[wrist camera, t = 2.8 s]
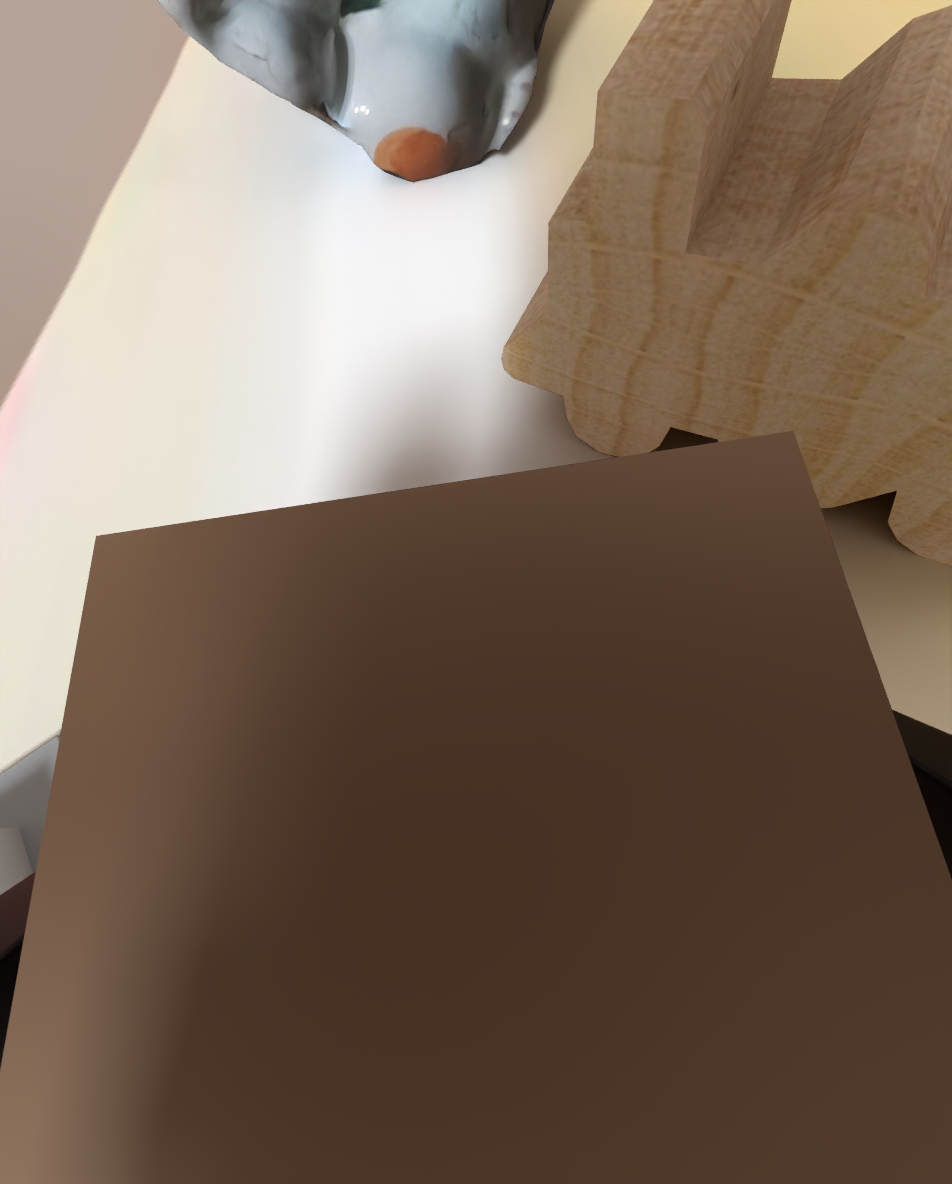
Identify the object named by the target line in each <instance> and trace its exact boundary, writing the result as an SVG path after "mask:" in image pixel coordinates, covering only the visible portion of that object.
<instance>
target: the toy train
mask: <svg viewBox="0 0 952 1184" xmlns="http://www.w3.org/2000/svg"><path fill="white" fill-rule="evenodd" d="M790 4H791V0H654V1H653V3H652V4H651V6H650V7H649V9H648V11H647V12H646V14H645V16H644V17H643V19H642V20H641V22H640V24H639V25H638V27H637V29H636V30H635V32H634V33H633V35H632V37H631V38H630V40H629V42H628V43H627V45H626V46H625V48H624V50H623V51H622V53H621V55H620V56H619V58H618V59H617V61H616V63H615V64H614V66H613V68H612V69H611V71H610V72H609V74H608V76H607V77H606V79H605V81H604V82H603V84H602V85H601V87H600V89H599V90H598V95H597V108H596V121H595V134H594V147H593V149H592V150H591V152H590V154H589V155H588V157H587V159H586V161H585V162H584V164H583V166H582V167H581V169H580V171H579V172H578V174H577V176H576V177H575V179H574V181H573V182H572V184H571V186H570V187H569V189H568V191H567V193H566V194H565V196H564V198H563V199H562V201H561V203H560V204H559V206H558V208H557V209H556V211H555V213H554V214H553V216H552V218H551V220H550V221H549V235H548V272H547V274H546V275H545V277H544V279H543V280H542V282H541V284H540V286H539V287H538V289H537V291H536V293H535V294H534V296H533V298H532V300H531V301H530V303H529V305H528V306H527V308H526V310H525V312H524V313H523V315H522V317H521V319H520V320H519V322H518V324H517V326H516V327H515V329H514V331H513V333H512V334H511V336H510V338H509V339H508V341H507V343H506V345H505V346H504V350H503V354H502V363H503V366H504V370H505V371H506V372H508V373H509V374H510V375H511V376H512V377H513V378H514V379H517V380H520V381H522V382H525V383H528V384H531V385H534V386H536V387H539V388H542V389H545V390H548V391H550V392H553V393H556V394H559V395H561V396H563V398H564V404H565V409H566V415H567V419H568V421H569V423H570V425H571V427H572V429H573V431H574V433H575V435H576V436H577V437H578V438H580V439H581V440H582V441H584V442H585V443H587V444H588V445H589V446H591V447H592V448H594V449H595V450H597V451H598V452H601V453H605V454H609V455H613V456H617V457H623V456H630V455H636V454H643V453H649V452H651V451H652V450H654V449H655V448H657V447H659V446H660V444H661V442H662V441H663V439H664V437H665V436H666V434H667V432H668V431H669V429H670V427H673V428H676V429H680V430H684V431H688V432H691V433H695V434H699V435H703V436H706V437H710V438H714V439H718V442H722V441H729V440H736V439H742V438H749V437H756V436H762V435H769V434H775V433H782V432H789V431H793V432H794V434H795V437H796V440H797V443H798V446H799V449H800V451H801V454H802V457H803V460H804V463H805V466H806V468H807V471H808V474H809V477H810V480H811V482H812V485H813V488H814V491H815V494H816V497H817V499H818V502H819V505H820V508H833V507H837V506H841V505H845V504H848V503H852V502H856V501H860V500H863V499H867V498H871V497H875V496H878V495H882V494H886V493H890V492H893V491H897V493H896V496H895V500H894V503H893V506H892V510H891V513H890V516H889V520H888V524H889V526H890V528H891V530H892V531H893V533H894V535H895V537H896V539H897V540H898V541H899V542H900V543H902V544H903V545H904V546H906V547H907V548H909V549H910V550H911V551H913V552H914V553H916V554H917V555H918V556H921V557H924V558H927V559H929V560H933V561H936V562H939V563H942V564H945V565H948V566H951V567H952V5H951V6H948V7H946V8H943V9H940V10H937V11H934V12H931V13H928V14H925V15H922V16H919V17H916V18H914V19H912V20H911V21H910V22H909V23H908V24H907V25H905V26H904V27H903V28H902V29H901V30H899V31H898V32H897V33H896V34H895V35H894V36H892V37H891V38H890V39H889V40H888V41H887V42H885V43H884V44H883V45H882V46H881V47H880V48H878V49H877V50H876V51H875V52H874V53H872V54H871V55H870V56H869V57H868V58H867V59H865V60H864V61H863V62H862V63H861V64H860V65H858V66H857V67H856V68H855V69H854V70H853V71H851V72H850V73H849V74H848V75H847V76H845V77H844V78H843V79H842V80H834V79H783V78H772V74H773V70H774V66H775V62H776V58H777V54H778V51H779V47H780V43H781V39H782V35H783V31H784V27H785V23H786V19H787V15H788V12H789V8H790Z"/></svg>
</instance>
